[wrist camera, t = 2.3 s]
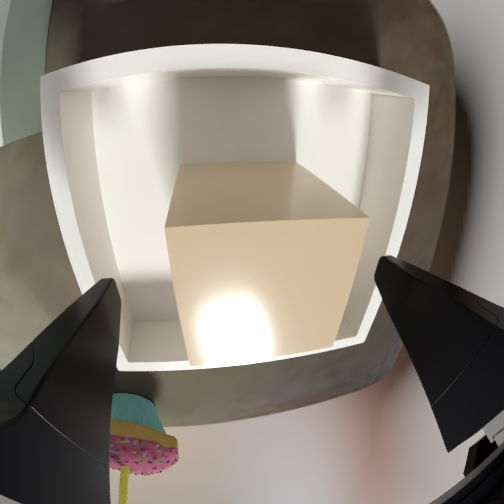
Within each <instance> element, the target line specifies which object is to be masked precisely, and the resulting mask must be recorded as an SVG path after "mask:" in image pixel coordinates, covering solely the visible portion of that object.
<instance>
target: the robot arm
mask: <svg viewBox="0 0 504 504" xmlns="http://www.w3.org/2000/svg"><path fill="white" fill-rule="evenodd" d="M374 281H375V283H376V286H377V288H378V290H379V293H380V295H381V297H382V300H383V302H384V305H385V307H386V309H387V312H388V314H389V316H390V318H391V320H392V322H393V324H394V326H395V328H396V330H397V332H398V334H399V336H400V338H401V340H402V342H403V344H404V346H405V348H406V350H407V352H408V355H409V357H410V359H411V361H412V363H413V365H414V368H415V370H416V372H417V374H418V376H419V379H420V381H421V383H422V386H423V388H424V390H425V393H426V395H427V398H428V400H429V402H430V405H431V408H432V411H433V413H434V416H435V418H436V421H437V424H438V427H439V430H440V432H441V435H442V438H443V441H444V444H445V447H446V449H447V452H448V453H449V452H450V451H452V450H453V449H455V448H456V447H458V446H459V445H461V444H462V443H464V442H465V441H466V440H468V439H469V438H470V437H472V436H473V435H474V434H475V433H477V432H478V431H479V430H480V429H483V430H484V432H485V435H484V436H483V437H482V438H481V439H479V440H478V441H477V442H476V443H475V444H473V445H472V446H471V447H470V448H469V452H468V456H467V461H466V466H465V469H464V476H465V478H464V479H463V480H461V481H460V482H459V483H458V484H456V485H455V486H454V487H452V488H451V489H450V490H448V491H447V492H446V493H444V494H443V495H441V496H440V497H439V498H437V499H436V500H434V501H433V502H431V503H430V504H504V308H503V307H501V306H499V305H496V304H494V303H492V302H490V301H488V300H486V299H484V298H482V297H479V296H477V295H475V294H473V293H471V292H469V291H467V290H465V289H463V288H461V287H459V286H457V285H455V284H453V283H451V282H449V281H446V280H444V279H442V278H440V277H438V276H436V275H434V274H431V273H429V272H427V271H425V270H423V269H421V268H418V267H416V266H414V265H412V264H409V263H407V262H405V261H403V260H400V259H398V258H396V257H394V256H391V255H386V256H381V257H380V258H379V260H378V264H377V267H376V270H375V273H374ZM121 305H122V304H121V297H120V294H119V291H118V288H117V285H116V282H115V280H114V279H113V278H102V279H100V280H99V281H98V282H97V283H96V284H94V285H93V286H92V287H91V288H90V289H89V290H87V291H86V292H85V293H84V294H83V295H82V296H80V297H79V298H78V299H77V300H76V301H75V302H74V303H73V304H71V305H70V306H69V307H68V308H67V309H66V310H65V311H64V312H63V313H61V314H60V315H59V316H58V317H57V318H56V319H55V320H54V321H53V322H52V323H51V324H50V325H49V326H47V327H46V328H45V329H44V330H43V331H42V332H41V333H40V334H39V335H38V336H37V337H36V338H35V339H34V340H33V343H32V342H31V343H30V344H29V345H28V346H27V347H26V348H25V349H24V350H23V351H22V352H21V353H20V354H19V355H18V356H17V357H16V358H15V359H14V360H13V361H12V362H10V363H9V364H8V365H7V366H6V367H5V368H4V369H3V370H2V371H1V372H0V504H111V502H110V482H109V481H110V479H109V444H110V423H111V409H112V398H113V388H114V379H115V371H116V364H117V357H118V349H119V336H120V319H121Z"/></svg>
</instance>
